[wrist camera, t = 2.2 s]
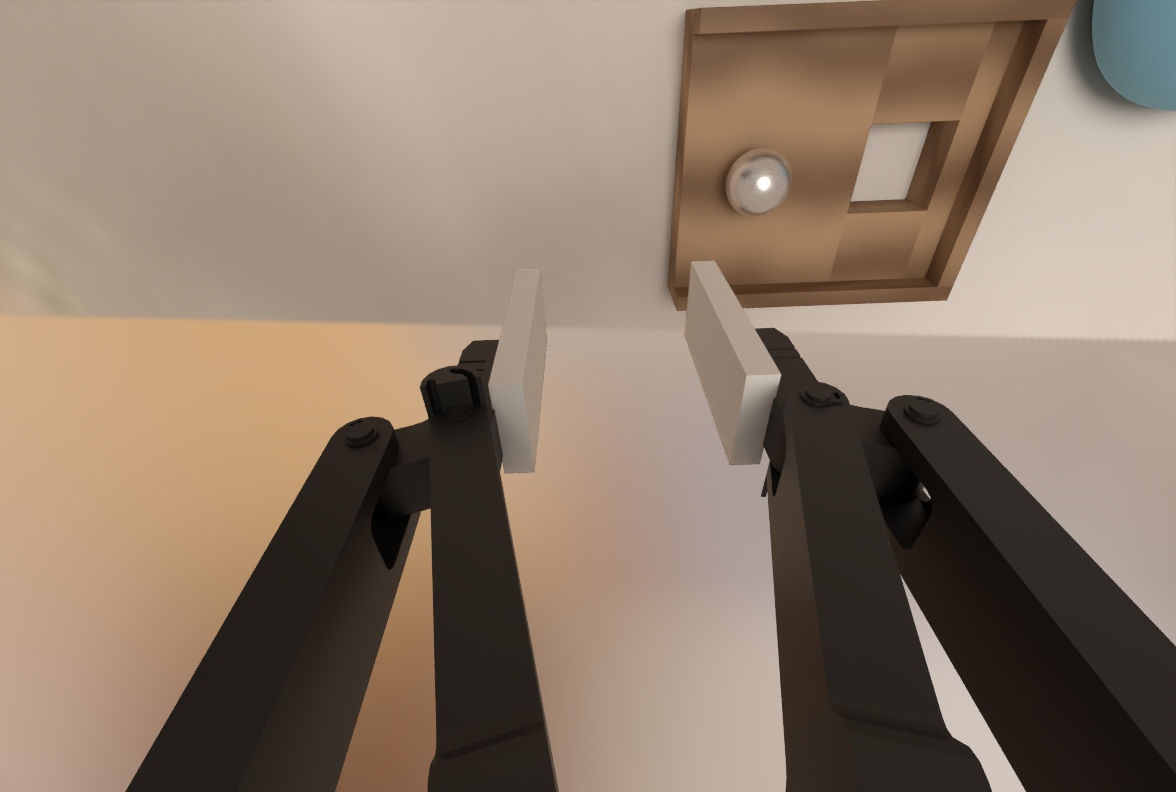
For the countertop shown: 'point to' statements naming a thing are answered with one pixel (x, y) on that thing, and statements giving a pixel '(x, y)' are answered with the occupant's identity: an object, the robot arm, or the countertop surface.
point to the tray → (850, 140)
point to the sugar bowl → (1137, 49)
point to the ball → (758, 182)
